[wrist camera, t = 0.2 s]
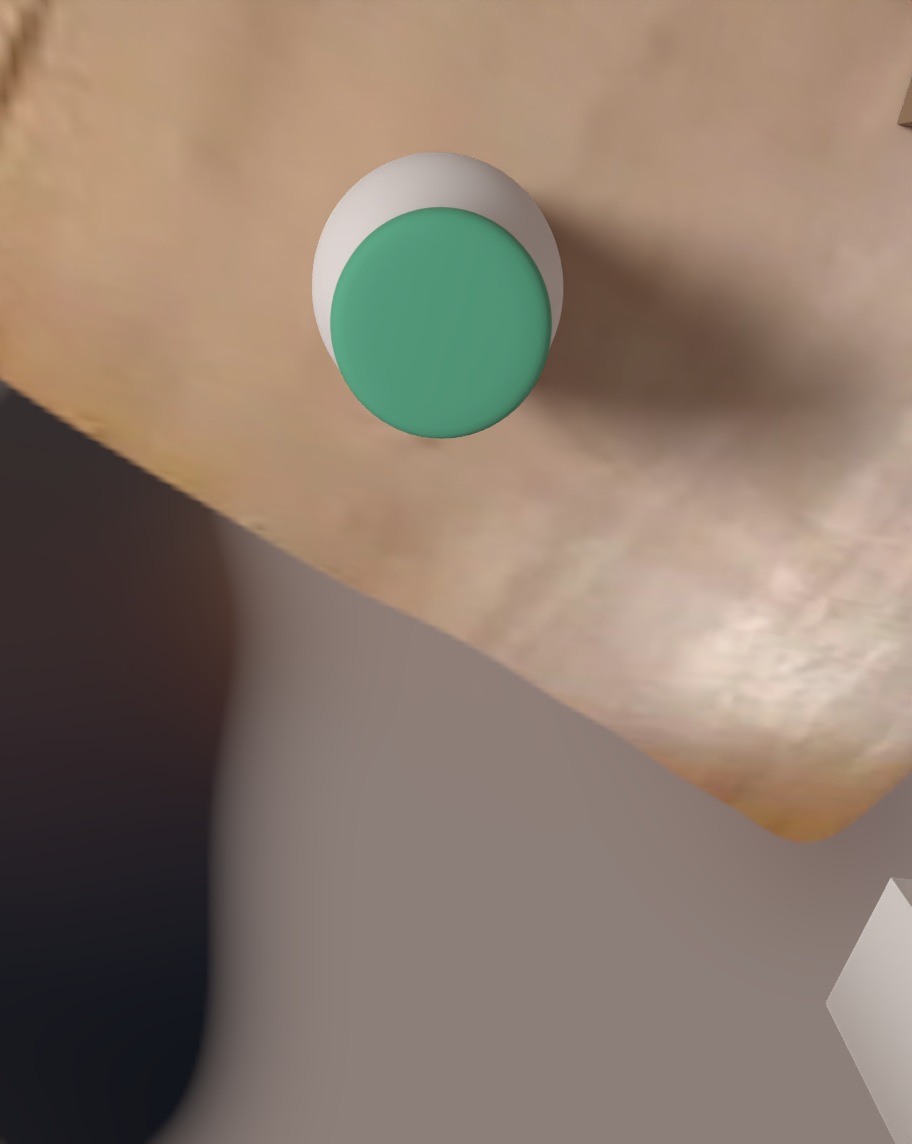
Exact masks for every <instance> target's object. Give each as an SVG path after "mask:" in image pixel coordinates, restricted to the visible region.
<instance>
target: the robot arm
mask: <svg viewBox="0 0 912 1144" xmlns="http://www.w3.org/2000/svg"><path fill="white" fill-rule="evenodd" d="M825 1004H826V1006H827V1008H828V1009H829V1012H830V1014H831V1016H832V1018H833V1020H834V1022H835V1024H836V1026H837V1028H838V1030H839V1032H840V1034H841V1036H842V1038H843V1039H844V1042H845V1044H846V1046H847V1048H848V1050H849V1052H850V1054H851V1056H852V1058H853V1060H854V1062H855V1064H856V1066H857V1068H858V1070H859V1072H860V1074H861V1076H862V1078H863V1080H864V1082H865V1084H866V1086H867V1088H868V1090H869V1092H870V1094H871V1096H872V1098H873V1100H874V1102H875V1104H876V1106H877V1108H878V1110H879V1112H880V1114H881V1116H882V1118H883V1120H884V1122H885V1124H886V1126H887V1128H888V1130H889V1132H890V1134H891V1136H892V1138H893V1140H894V1142H895V1144H912V880H908V879H900V878H891V879H890V881H889V882H888V884H887V886H886V888H885V890H884V892H883V894H882V896H881V898H880V900H879V902H878V904H877V906H876V907H875V909H874V911H873V913H872V915H871V917H870V919H869V921H868V923H867V925H866V927H865V928H864V930H863V932H862V934H861V936H860V938H859V940H858V942H857V944H856V946H855V947H854V950H853V951H852V954H851V955H850V958H849V959H848V961H847V963H846V965H845V967H844V969H843V970H842V973H841V974H840V976H839V978H838V980H837V982H836V984H835V986H834V988H833V990H832V992H831V994H830V995H829V997H828V999H827V1001H826V1003H825Z"/></svg>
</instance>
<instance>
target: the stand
mask: <svg viewBox="0 0 912 1144" xmlns="http://www.w3.org/2000/svg"><path fill="white" fill-rule="evenodd" d="M898 124H899V125H905V126H911V127H912V80H911V83H910V86H909V89H908V92H907V95H906V99H905V102H904V105H903V108H902V111H901V114H900V117H899V121H898Z"/></svg>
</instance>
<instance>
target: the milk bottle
mask: <svg viewBox="0 0 912 1144" xmlns="http://www.w3.org/2000/svg"><path fill="white" fill-rule="evenodd" d="M312 297H313V307H314V312H315V317H316V321H317V325H318V328H319V332H320V334H321V337H322V339H323V342H324V344H325V346H326V348H327V350H328V352H329V354H330V356H331V357H332V359H333V361H334V362H335V364H336V365H337V367H338V368H339V369H340V372H341V374H342V376H343V377H344V379H345V381H346V383H347V385H348V386H349V388H350V389H351V391H352V392H353V394H354V395H355V396H356V397H357V399H358V400H359V401H360V402H361V403H362V404H363V405H364V406H365V407H366V408H367V409H368V410H369V411H370V412H371V413H372V414H374V415H375V416H376V417H378V418H379V419H380V420H382V421H384V422H385V423H387V424H389V425H390V426H392V427H394V428H396V429H399V430H401V431H404V432H406V433H409V434H413V435H417V436H421V437H427V438H440V439H442V438H456V437H462V436H466V435H471V434H474V433H477V432H480V431H482V430H484V429H487V428H489V427H491V426H493V425H494V424H496V423H498V422H500V421H501V420H502V419H504V418H505V417H507V416H508V415H509V414H510V413H511V412H513V411H514V410H515V409H516V408H517V407H518V406H519V405H520V404H521V403H522V402H523V401H524V400H525V398H526V397H527V396H528V394H529V393H530V392H531V390H532V389H533V387H534V386H535V384H536V382H537V381H538V379H539V377H540V375H541V373H542V370H543V368H544V365H545V363H546V359H547V356H548V352H549V349H550V347H551V344H552V342H553V340H554V337H555V335H556V331H557V328H558V325H559V321H560V316H561V311H562V303H563V272H562V266H561V260H560V256H559V252H558V248H557V244H556V242H555V239H554V236H553V233H552V231H551V229H550V227H549V225H548V222H547V220H546V218H545V217H544V215H543V214H542V212H541V210H540V209H539V207H538V206H537V205H536V203H535V202H534V201H533V199H532V198H531V197H530V196H529V195H528V193H527V192H526V191H525V190H524V189H523V188H522V187H521V186H520V185H519V184H517V183H516V182H515V181H514V180H513V179H512V178H510V177H509V176H507V175H506V174H505V173H503V172H502V171H500V170H498V169H497V168H495V167H493V166H491V165H490V164H487V163H485V162H482V161H480V160H478V159H475V158H471V157H468V156H465V155H459V154H454V153H444V152H428V153H420V154H413V155H409V156H405V157H401V158H398V159H396V160H393V161H391V162H388V163H386V164H384V165H382V166H380V167H378V168H376V169H375V170H373V171H372V172H370V173H369V174H367V175H366V176H364V177H363V178H362V179H361V180H360V181H358V182H357V183H356V184H355V185H354V186H353V187H352V188H351V189H350V190H349V191H348V192H347V193H346V194H345V195H344V197H343V198H342V199H341V200H340V202H339V203H338V204H337V206H336V207H335V209H334V210H333V212H332V213H331V215H330V217H329V219H328V221H327V223H326V225H325V227H324V229H323V232H322V234H321V237H320V239H319V243H318V246H317V250H316V254H315V259H314V265H313V276H312Z"/></svg>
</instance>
